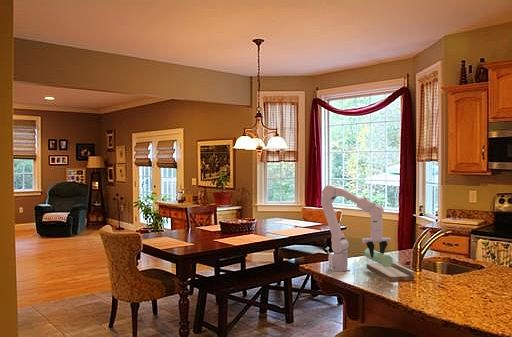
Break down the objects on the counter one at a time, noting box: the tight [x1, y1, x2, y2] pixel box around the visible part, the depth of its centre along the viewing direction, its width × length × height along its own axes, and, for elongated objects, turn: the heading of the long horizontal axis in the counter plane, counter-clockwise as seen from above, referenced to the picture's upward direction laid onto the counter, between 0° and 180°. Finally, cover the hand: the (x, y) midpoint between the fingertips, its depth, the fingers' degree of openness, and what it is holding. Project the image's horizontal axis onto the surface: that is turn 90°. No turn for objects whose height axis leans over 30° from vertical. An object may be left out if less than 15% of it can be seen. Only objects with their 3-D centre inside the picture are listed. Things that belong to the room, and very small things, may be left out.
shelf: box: [366, 261, 415, 282], centre depth 223 cm, size 12×28×4 cm, turn 9°
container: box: [363, 248, 394, 267], centre depth 222 cm, size 6×6×25 cm
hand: (376, 256), depth 222 cm, fingers closed on container, 4 cm apart
